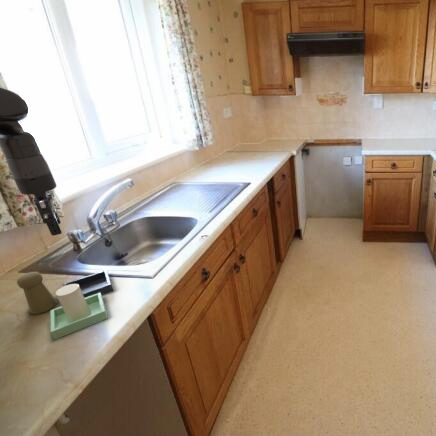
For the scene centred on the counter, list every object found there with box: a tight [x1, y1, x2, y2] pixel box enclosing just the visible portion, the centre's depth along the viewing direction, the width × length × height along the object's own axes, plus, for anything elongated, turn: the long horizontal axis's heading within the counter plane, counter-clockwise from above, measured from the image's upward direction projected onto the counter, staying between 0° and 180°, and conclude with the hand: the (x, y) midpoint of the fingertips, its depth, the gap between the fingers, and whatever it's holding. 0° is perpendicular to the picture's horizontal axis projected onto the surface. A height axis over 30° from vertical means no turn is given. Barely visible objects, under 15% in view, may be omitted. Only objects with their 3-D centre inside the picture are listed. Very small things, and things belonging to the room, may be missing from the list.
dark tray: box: [62, 269, 115, 298], centre depth 98 cm, size 12×11×2 cm
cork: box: [16, 271, 58, 315], centre depth 90 cm, size 6×6×11 cm
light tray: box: [49, 293, 109, 340], centre depth 87 cm, size 12×11×2 cm
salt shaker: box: [55, 284, 91, 322], centre depth 85 cm, size 5×5×9 cm
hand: (56, 229), depth 90 cm, fingers open, 8 cm apart
